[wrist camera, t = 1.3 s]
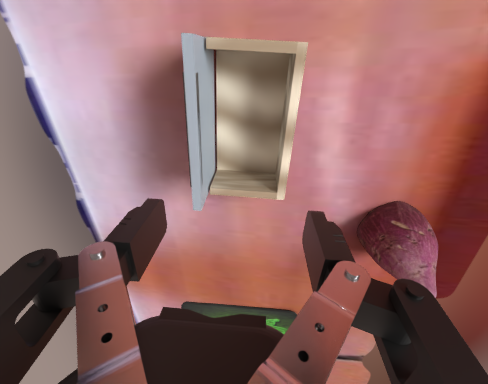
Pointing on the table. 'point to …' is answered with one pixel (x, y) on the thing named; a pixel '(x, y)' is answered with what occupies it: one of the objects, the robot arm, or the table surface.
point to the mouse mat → (273, 316)
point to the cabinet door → (199, 114)
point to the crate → (255, 114)
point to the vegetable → (401, 243)
